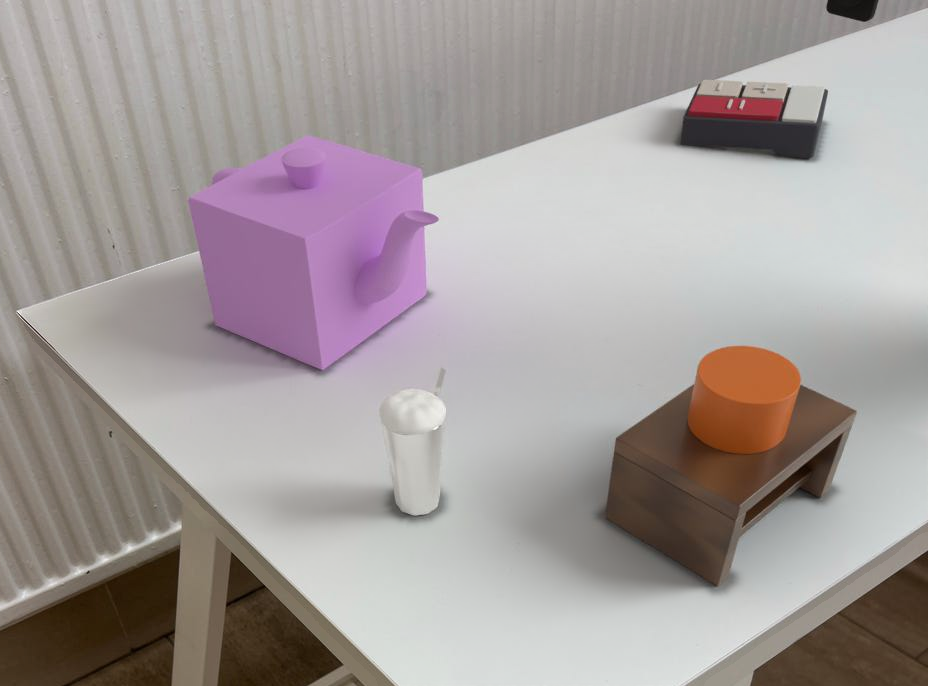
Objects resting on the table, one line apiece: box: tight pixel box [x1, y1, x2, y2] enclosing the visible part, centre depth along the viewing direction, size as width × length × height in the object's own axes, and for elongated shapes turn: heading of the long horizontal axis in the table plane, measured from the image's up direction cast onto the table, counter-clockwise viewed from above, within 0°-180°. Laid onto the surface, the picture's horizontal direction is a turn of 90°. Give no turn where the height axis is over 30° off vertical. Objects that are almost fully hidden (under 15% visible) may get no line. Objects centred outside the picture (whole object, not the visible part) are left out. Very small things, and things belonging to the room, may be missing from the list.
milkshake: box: [379, 367, 447, 517], centre depth 69 cm, size 4×5×10 cm
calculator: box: [680, 79, 829, 159], centre depth 113 cm, size 11×4×15 cm
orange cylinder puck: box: [688, 345, 802, 454], centre depth 65 cm, size 7×7×4 cm
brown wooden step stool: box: [604, 383, 858, 587], centre depth 69 cm, size 10×14×7 cm
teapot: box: [187, 134, 440, 371], centre depth 85 cm, size 15×25×14 cm, turn 54°
